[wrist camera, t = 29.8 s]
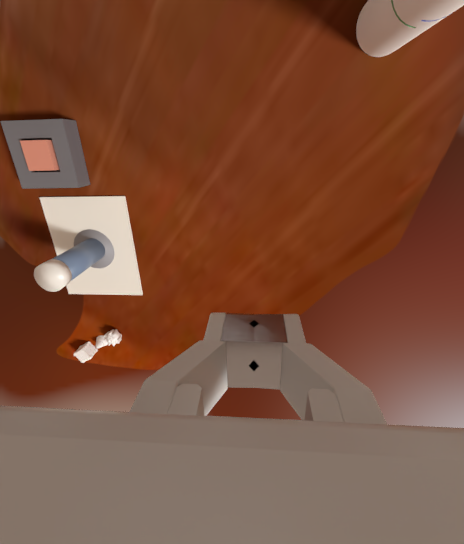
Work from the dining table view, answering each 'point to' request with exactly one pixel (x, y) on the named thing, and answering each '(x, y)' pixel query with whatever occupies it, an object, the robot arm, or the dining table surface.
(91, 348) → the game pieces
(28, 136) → the button housing
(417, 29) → the cylindrical container
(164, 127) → the dining table surface
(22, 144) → the button
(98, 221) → the paper sheet
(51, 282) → the blue and white cylinder
